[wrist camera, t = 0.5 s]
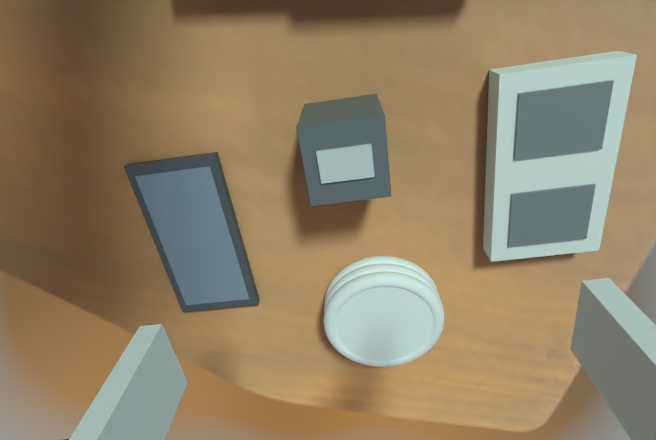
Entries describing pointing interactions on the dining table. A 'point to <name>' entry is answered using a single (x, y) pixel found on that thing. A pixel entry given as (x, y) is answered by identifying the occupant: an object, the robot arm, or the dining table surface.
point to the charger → (344, 150)
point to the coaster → (383, 311)
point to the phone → (195, 230)
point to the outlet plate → (552, 153)
